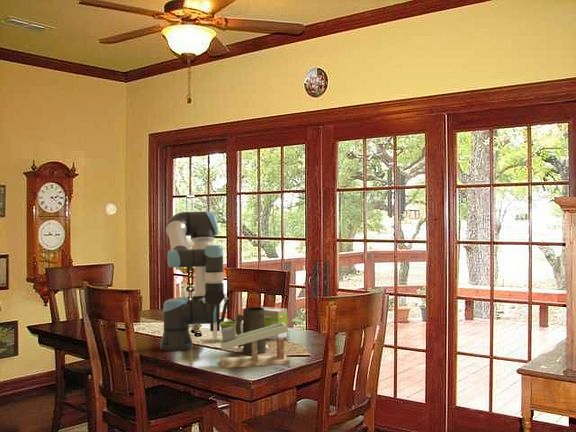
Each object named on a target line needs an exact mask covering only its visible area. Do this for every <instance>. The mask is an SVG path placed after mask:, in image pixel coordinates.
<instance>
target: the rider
mask: <svg viewBox="0 0 576 432" xmlns="http://www.w3.org/2000/svg"><path fill="white" fill-rule="evenodd" d="M220 333H221V336H222V339H223V341H224V342H228V341H231V340H235V339H236V337H235V333H234V329H233V327H232V326H231V327H228V328H224V329H221V328H220Z"/></svg>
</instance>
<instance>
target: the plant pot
mask: <svg viewBox="0 0 576 432" xmlns="http://www.w3.org/2000/svg"><path fill="white" fill-rule="evenodd" d="M236 323H237V320H236V321H234V320H227V321H225V320H224V321H223V322H221V323H220V330H221V329H224V328H228V327H231V326H232V327H233V329H234V333H235V335H237V334H236Z"/></svg>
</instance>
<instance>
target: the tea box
mask: <svg viewBox="0 0 576 432" xmlns="http://www.w3.org/2000/svg"><path fill="white" fill-rule="evenodd" d="M260 307H261V308H264V310H265V327H268V326H272V325H275V324H279V323H282V322H283V323H284V324H285V325H286V326H287V327H288V309H287V308H281V307H269V306H260ZM277 337H282V338H283V339H285V338H287V337H288V332H285V333H282V334H278V335H275V336H271V337H268V338H266V340H267V339H268V340H273V341H274V340H275V341H277Z"/></svg>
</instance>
